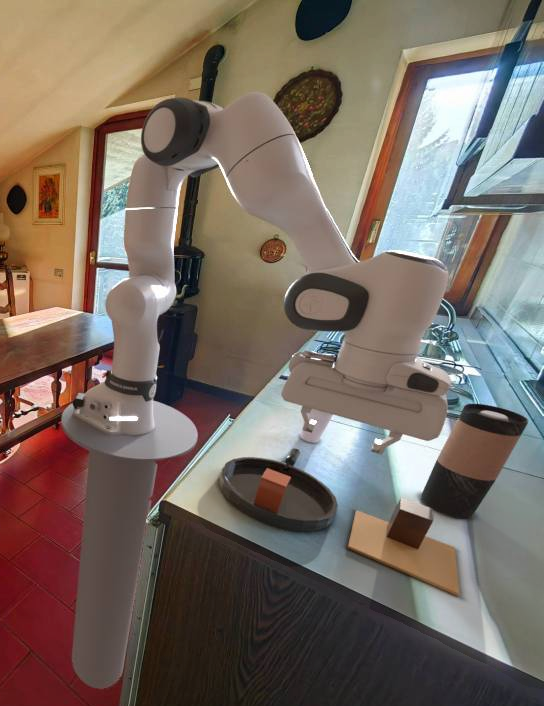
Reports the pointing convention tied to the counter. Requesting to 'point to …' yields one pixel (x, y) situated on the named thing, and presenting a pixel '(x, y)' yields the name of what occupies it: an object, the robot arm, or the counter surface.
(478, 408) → the travel mug
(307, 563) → the counter surface
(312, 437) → the smoothie
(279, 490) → the terracotta block
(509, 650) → the counter surface
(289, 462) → the pan handle
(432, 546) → the mat
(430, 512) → the walnut block
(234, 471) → the pan
